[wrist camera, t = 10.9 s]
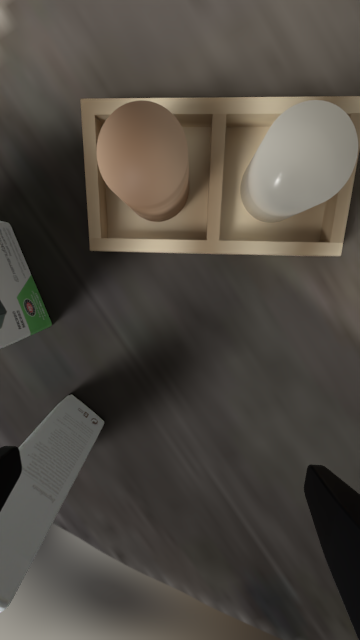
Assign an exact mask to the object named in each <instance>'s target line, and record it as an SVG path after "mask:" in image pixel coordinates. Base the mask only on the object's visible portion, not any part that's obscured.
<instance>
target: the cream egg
mask: <svg viewBox="0 0 360 640" xmlns="http://www.w3.org/2000/svg"><path fill="white" fill-rule="evenodd" d="M357 154H358V138H357V133H356V129H355V127H354V124H353V122H352V120H351V119H350V117H349V116H348V115H347V114H346V112H345V111H344V110H342V109H341V108H340V107H338V106H337V105H335V104H333V103H330V102H327V101H323V100H309V101H304V102H301V103H298V104H296V105H294V106H292V107H290V108H289V109H287V110H286V111H284V112H283V113H282V114H281V115H280V116H279V117H278V118H277V119H276V120H275V121H274V123H273V124H272V125H271V127H270V128H269V130H268V132H267V133H266V135H265V137H264V139H263V140H262V142H261V144H260V146H259V147H258V149H257V151H256V153H255V154H254V156H253V158H252V160H251V161H250V163H249V165H248V167H247V168H246V170H245V172H244V174H243V177H242V180H241V186H240V194H241V199H242V203H243V205H244V207H245V209H246V210H247V212H248V213H249V214H250V215H251V216H252V217H254V218H255V219H257V220H259V221H262V222H267V223H275V222H280V221H283V220H285V219H287V218H289V217H292V216H294V215H296V214H298V213H301V212H303V211H305V210H307V209H310V208H312V207H314V206H316V205H319V204H321V203H323V202H325V201H327V200H329V199H330V198H332V197H333V196H334V195H335V194H337V193H338V192H339V191H340V190H341V189H342V187H343V186H344V185H345V184H346V182H347V181H348V179H349V178H350V176H351V174H352V172H353V169H354V167H355V164H356V160H357Z"/></svg>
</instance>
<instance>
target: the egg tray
mask: <svg viewBox="0 0 360 640" xmlns="http://www.w3.org/2000/svg"><path fill="white" fill-rule="evenodd" d="M141 100H144V101H151V102H154V103H157V104H159V105H161V106H163V107H165V108H166V109H168V110H169V111H170V112H171V113H172V114H173V115H174V116H175V117H176V118H177V120H178V121H179V123H180V124H181V126H182V128H183V131H184V133H185V136H186V140H187V146H188V163H189V195H188V199H187V201H186V203H185V205H184V207H183V208H182V210H181V211H180V212H179V213H178V214H177V215H176V216H174V217H173V218H171V219H169V220H166V221H162V222H153V221H149V220H146V219H144V218H142V217H140V216H139V215H138V214H136V213H135V212H134V211H133V210H132V209H131V208H130V207H129V206H128V205H127V204H126V203H125V202H123V201H122V200H121V199H120V198H119V197H118V196H117V195H116V194H115V193H114V192H113V191H112V190H111V189H110V188H109V187H108V185H107V184H106V183H105V181H104V179H103V177H102V175H101V173H100V170H99V167H98V162H97V152H96V151H97V141H98V137H99V133H100V131H101V128H102V126H103V124H104V123H105V121H106V119H107V118H108V117H109V116H110V114H112V113H113V112H114V111H115V110H116V109H117V108H119V107H120V106H122V105H124V104H126V103H129V102H132V101H141ZM309 100H323V101H327V102H330V103H333V104H335V105H337V106H338V107H340V108H341V109H342V110H344V111H345V112H346V114H347V115H348V116H349V117H350V119H351V120H352V122H353V124H354V127H355V129H356V133H357V138H358V154H357V160H356V164H355V167H354V169H353V172H352V174H351V176H350V178H349V179H348V181H347V182H346V184H345V185H344V186H343V187H342V189H341V190H340V191H339V192H338V193H337V194H335V195H334V196H333V197H332V198H330V199H329V200H327V201H325V202H323V203H321V204H319V205H316V206H314V207H312V208H310V209H307V210H305V211H303V212H301V213H298V214H296V215H294V216H292V217H289V218H287V219H285V220H283V221H280V222H275V223H267V222H262V221H259V220H257V219H255V218H254V217H252V216H251V215H250V214H249V213H248V212H247V210H246V209H245V207H244V205H243V203H242V199H241V194H240V186H241V180H242V177H243V174H244V172H245V170H246V168H247V167H248V165H249V163H250V161H251V160H252V158H253V156H254V154H255V153H256V151H257V149H258V147H259V146H260V144H261V142H262V140H263V139H264V137H265V135H266V133H267V132H268V130H269V128H270V127H271V125H272V124H273V123H274V121H275V120H276V119H277V118H278V117H279V116H280V115H281V114H282V113H283V112H284V111H286V110H287V109H289V108H290V107H292V106H294V105H296V104H298V103H301V102H304V101H309ZM80 101H81V116H82V132H83V148H84V163H85V179H86V195H87V211H88V226H89V242H90V250H91V251H103V252H148V253H193V254H238V255H283V256H341V252H342V246H343V240H344V235H345V229H346V223H347V218H348V212H349V206H350V201H351V195H352V189H353V183H354V178H355V172H356V166H357V161H358V155H359V149H360V96H330V97H217V98H104V99H80Z"/></svg>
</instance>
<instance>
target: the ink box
mask: <svg viewBox="0 0 360 640" xmlns="http://www.w3.org/2000/svg"><path fill="white" fill-rule="evenodd" d="M51 325H52V323H51V320H50V318H49V315H48V313H47V310H46V308H45V306H44V303H43V301H42V299H41V296H40V294H39V292H38V289H37V287H36V284H35V282H34V280H33V278H32V275H31V273H30V270H29V268H28V265H27V263H26V261H25V258H24V256H23V254H22V251H21V249H20V247H19V244H18V242H17V239H16V237H15V235H14V232H13V230H12V227H11V225H10V224H9V223H7V222H3V221H0V348H3V347H5V346H7V345H10V344H12V343H14V342H17V341H19V340H21V339H24V338H26V337H28V336H30V335H32V334H35V333H37V332H39V331H42V330H44V329H46V328H48V327H50V326H51Z"/></svg>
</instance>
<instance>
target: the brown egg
mask: <svg viewBox="0 0 360 640" xmlns="http://www.w3.org/2000/svg"><path fill="white" fill-rule="evenodd" d="M96 152H97V162H98V167H99V170H100V173H101V175H102V177H103V179H104V181H105V183H106V184H107V185H108V187H109V188H110V189H111V190H112V191H113V192H114V193H115V194H116V195H117V196H118V197H119V198H120V199H121V200H122V201H123V202H125V203H126V204H127V205H128V206H129V207H130V208H131V209H132V210H133V211H134V212H135V213H136V214H138V215H139V216H140V217H142V218H144V219H146V220H149V221H153V222H162V221H166V220H169V219H171V218H173V217H174V216H176V215H177V214H178V213H179V212H180V211H181V210H182V208H183V207H184V205H185V203H186V201H187V199H188V195H189V163H188V146H187V140H186V136H185V133H184V131H183V128H182V126H181V124H180V123H179V121H178V120H177V118H176V117H175V116H174V115H173V114H172V113H171V112H170V111H169V110H168V109H166V108H165V107H163V106H161V105H159V104H157V103H154V102H151V101H144V100H141V101H132V102H129V103H126V104H124V105H122V106H120V107H119V108H117V109H116V110H115V111H114V112H113V113H112V114H110V116H109V117H108V118H107V119H106V121H105V123H104V124H103V126H102V128H101V131H100V133H99V137H98V141H97V151H96Z"/></svg>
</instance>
